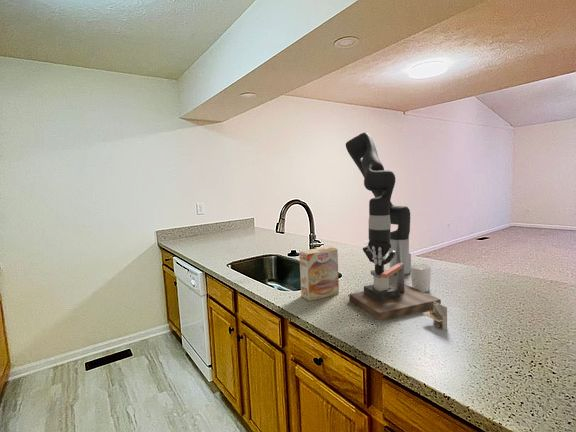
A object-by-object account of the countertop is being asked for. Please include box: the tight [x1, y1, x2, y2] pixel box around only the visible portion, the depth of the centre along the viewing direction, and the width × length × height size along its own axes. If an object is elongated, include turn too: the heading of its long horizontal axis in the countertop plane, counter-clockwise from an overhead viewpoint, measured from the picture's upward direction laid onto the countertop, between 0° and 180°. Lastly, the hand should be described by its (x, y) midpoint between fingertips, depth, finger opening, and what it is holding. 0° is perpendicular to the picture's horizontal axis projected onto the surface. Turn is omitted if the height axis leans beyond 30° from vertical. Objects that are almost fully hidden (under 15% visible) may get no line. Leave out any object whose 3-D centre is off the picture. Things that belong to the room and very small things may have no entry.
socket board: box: [348, 283, 442, 322], centre depth 124 cm, size 26×20×6 cm
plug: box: [370, 268, 390, 291], centre depth 125 cm, size 5×5×10 cm
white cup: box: [410, 263, 432, 293], centre depth 137 cm, size 8×8×10 cm
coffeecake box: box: [298, 245, 340, 302], centre depth 137 cm, size 15×7×20 cm, turn 117°
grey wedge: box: [422, 301, 448, 331], centre depth 105 cm, size 3×7×7 cm, turn 20°
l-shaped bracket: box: [381, 263, 405, 292], centre depth 122 cm, size 17×3×11 cm, turn 140°
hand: (379, 274), depth 118 cm, fingers closed
